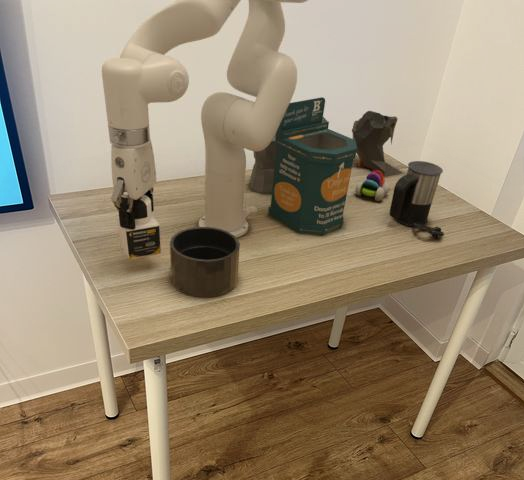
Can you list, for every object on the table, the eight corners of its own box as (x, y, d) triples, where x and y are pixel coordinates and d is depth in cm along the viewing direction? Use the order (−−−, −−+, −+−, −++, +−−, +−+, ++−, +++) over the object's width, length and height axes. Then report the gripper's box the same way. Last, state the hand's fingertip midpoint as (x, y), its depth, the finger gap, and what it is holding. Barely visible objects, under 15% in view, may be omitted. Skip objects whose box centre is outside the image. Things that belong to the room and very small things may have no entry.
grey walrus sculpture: (371, 156, 183) (382, 101, 171) (402, 172, 173) (416, 115, 162) (339, 162, 176) (349, 104, 165) (369, 179, 167) (382, 120, 155)
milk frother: (402, 208, 152) (415, 157, 142) (454, 226, 146) (472, 174, 136) (380, 225, 143) (393, 172, 133) (436, 245, 136) (454, 191, 127)
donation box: (310, 201, 151) (325, 96, 133) (352, 224, 142) (374, 114, 124) (267, 215, 142) (278, 104, 124) (310, 240, 133) (327, 125, 115)
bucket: (209, 256, 124) (209, 220, 118) (251, 283, 116) (253, 247, 110) (158, 276, 116) (156, 239, 110) (199, 306, 108) (199, 268, 102)
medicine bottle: (129, 260, 112) (123, 207, 104) (119, 244, 117) (113, 192, 109) (161, 254, 115) (158, 202, 107) (150, 238, 120) (146, 188, 112)
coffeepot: (238, 182, 157) (241, 119, 146) (263, 176, 162) (268, 114, 150) (270, 202, 148) (276, 136, 137) (295, 195, 153) (303, 131, 141)
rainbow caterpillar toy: (390, 194, 159) (396, 171, 154) (377, 205, 152) (383, 180, 148) (364, 186, 162) (369, 163, 157) (351, 196, 156) (356, 172, 151)
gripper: (125, 152, 93) (134, 241, 104) (167, 123, 105) (171, 205, 117) (87, 145, 94) (100, 234, 105) (132, 117, 107) (139, 198, 118)
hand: (137, 218), depth 111 cm, fingers closed on medicine bottle, 7 cm apart
